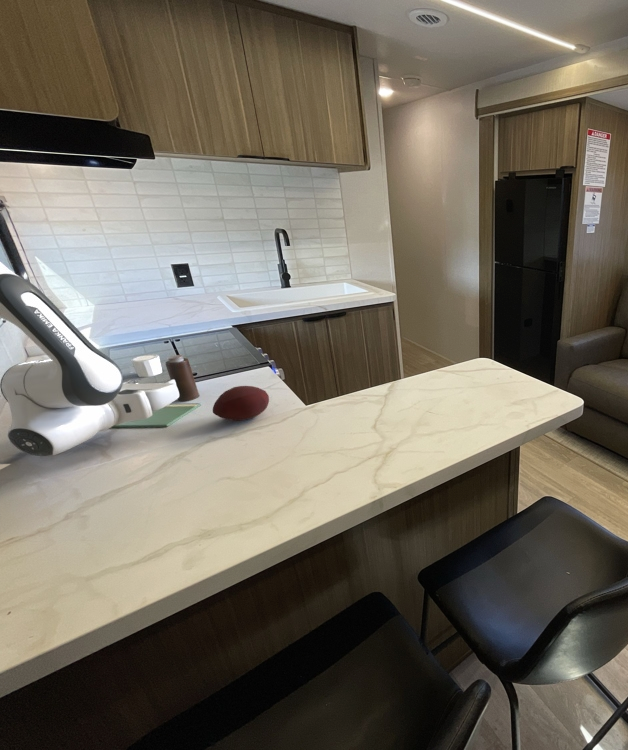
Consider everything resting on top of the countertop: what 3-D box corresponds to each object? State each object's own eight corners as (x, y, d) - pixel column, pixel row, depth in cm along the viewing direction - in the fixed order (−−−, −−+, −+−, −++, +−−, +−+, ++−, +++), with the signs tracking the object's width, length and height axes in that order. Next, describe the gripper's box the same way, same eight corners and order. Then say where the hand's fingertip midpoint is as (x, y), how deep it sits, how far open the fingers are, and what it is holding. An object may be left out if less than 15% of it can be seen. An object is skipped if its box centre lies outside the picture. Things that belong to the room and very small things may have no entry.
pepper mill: (173, 401, 111) (158, 360, 106) (186, 394, 115) (172, 354, 111) (191, 401, 111) (177, 359, 106) (203, 393, 116) (191, 353, 111)
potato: (282, 410, 105) (275, 381, 102) (248, 431, 95) (239, 399, 92) (245, 406, 108) (237, 377, 104) (208, 426, 97) (199, 395, 94)
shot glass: (161, 372, 131) (154, 352, 129) (169, 377, 128) (162, 356, 125) (135, 379, 126) (127, 358, 124) (142, 384, 123) (134, 362, 120)
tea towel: (109, 427, 97) (108, 425, 97) (149, 405, 108) (148, 403, 108) (167, 426, 97) (166, 424, 97) (201, 405, 109) (200, 402, 108)
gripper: (64, 419, 90) (117, 394, 103) (155, 418, 91) (197, 393, 103) (52, 394, 88) (108, 371, 101) (145, 393, 88) (190, 370, 101)
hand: (154, 382), depth 102 cm, fingers open, 8 cm apart
